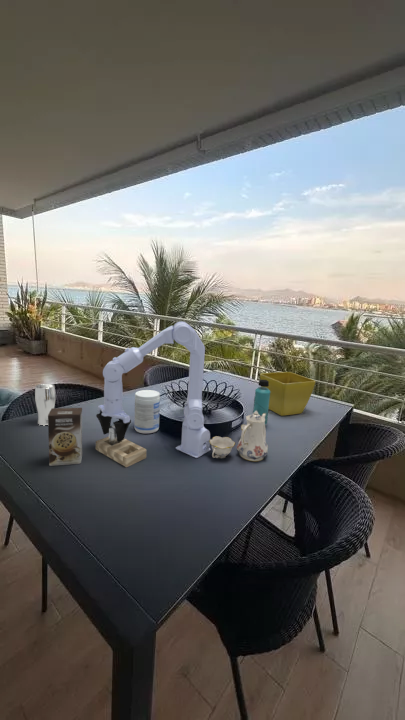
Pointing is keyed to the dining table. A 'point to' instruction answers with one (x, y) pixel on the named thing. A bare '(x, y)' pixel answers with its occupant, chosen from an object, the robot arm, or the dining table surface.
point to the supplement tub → (147, 411)
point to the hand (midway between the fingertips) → (113, 436)
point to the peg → (112, 436)
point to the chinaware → (245, 440)
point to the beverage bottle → (262, 399)
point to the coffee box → (65, 436)
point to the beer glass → (44, 401)
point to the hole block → (122, 451)
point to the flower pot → (288, 392)
